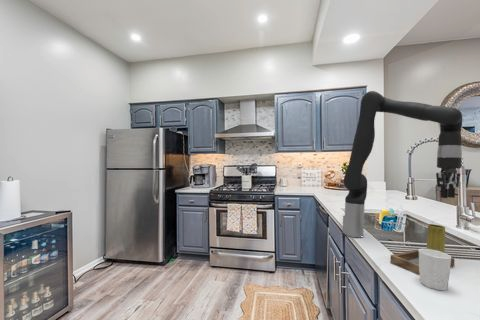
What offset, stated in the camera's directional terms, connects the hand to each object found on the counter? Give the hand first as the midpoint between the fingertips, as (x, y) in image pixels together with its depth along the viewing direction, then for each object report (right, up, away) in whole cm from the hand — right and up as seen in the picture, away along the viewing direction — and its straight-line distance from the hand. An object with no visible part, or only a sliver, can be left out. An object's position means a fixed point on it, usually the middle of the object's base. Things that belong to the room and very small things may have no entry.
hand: (447, 197), depth 94 cm
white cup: (-25, -24, -22) cm, 41 cm away
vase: (-8, -25, -4) cm, 27 cm away
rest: (-16, -25, -7) cm, 30 cm away
